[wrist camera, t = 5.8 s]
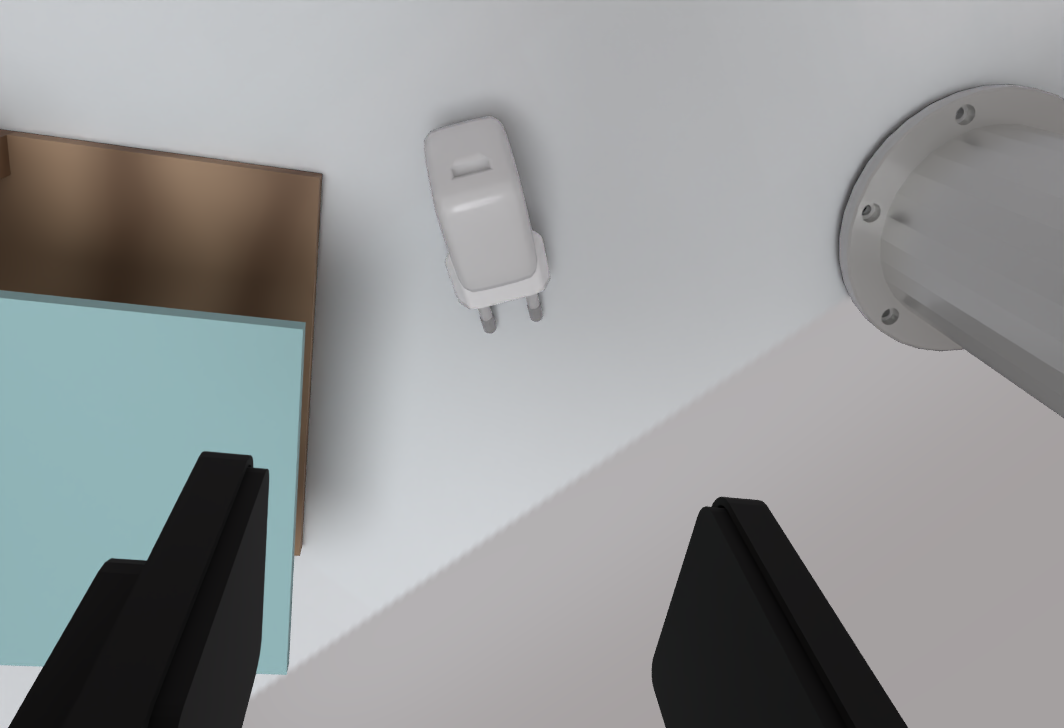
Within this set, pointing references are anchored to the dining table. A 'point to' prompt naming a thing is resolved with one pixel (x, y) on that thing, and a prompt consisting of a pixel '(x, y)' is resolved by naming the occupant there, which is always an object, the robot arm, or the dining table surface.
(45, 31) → the dining table surface
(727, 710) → the robot arm
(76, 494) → the flap
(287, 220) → the stand
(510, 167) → the power adapter
